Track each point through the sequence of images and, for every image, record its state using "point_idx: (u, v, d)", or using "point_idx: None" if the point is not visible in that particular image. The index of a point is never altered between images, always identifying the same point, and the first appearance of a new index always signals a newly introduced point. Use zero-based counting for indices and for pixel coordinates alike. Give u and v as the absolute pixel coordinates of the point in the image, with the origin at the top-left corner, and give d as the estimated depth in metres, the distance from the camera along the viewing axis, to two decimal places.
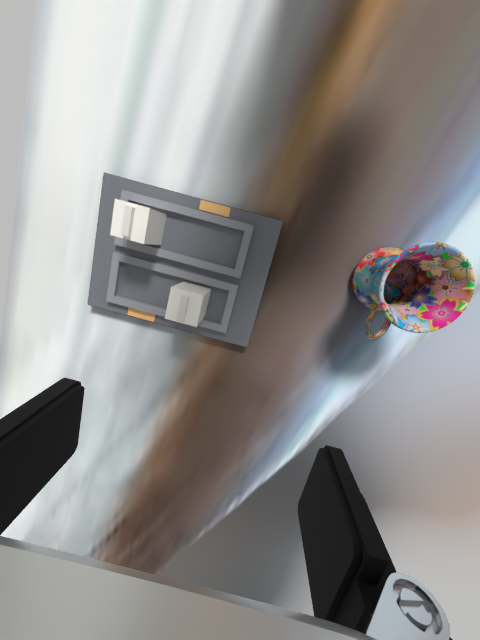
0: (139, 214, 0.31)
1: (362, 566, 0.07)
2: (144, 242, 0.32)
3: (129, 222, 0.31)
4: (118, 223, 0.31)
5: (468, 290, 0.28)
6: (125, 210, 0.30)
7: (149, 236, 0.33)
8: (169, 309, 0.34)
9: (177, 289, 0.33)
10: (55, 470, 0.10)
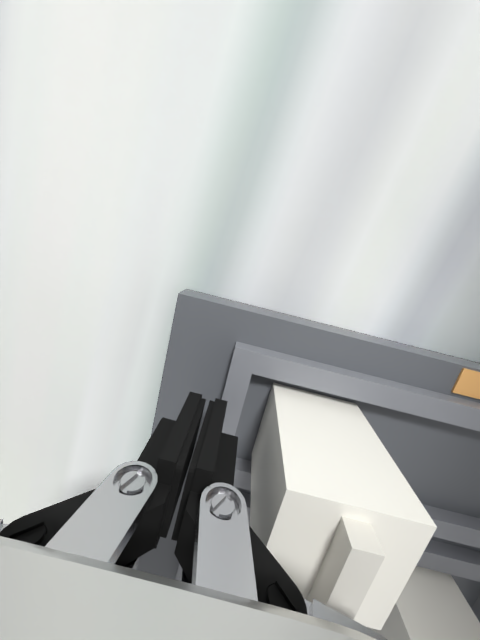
0: (385, 545, 0.07)
1: (194, 478, 0.08)
2: None
3: (357, 605, 0.07)
4: (288, 567, 0.08)
5: None
6: (349, 566, 0.07)
7: None
8: None
9: None
10: None
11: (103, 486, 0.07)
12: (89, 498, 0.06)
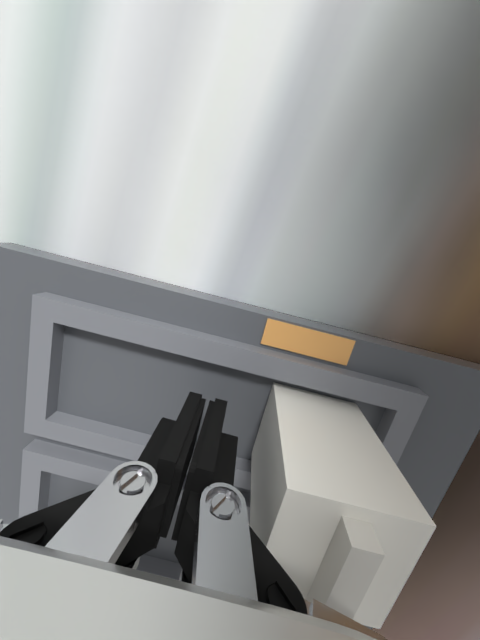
0: (384, 544, 0.07)
1: (194, 478, 0.08)
2: None
3: (357, 603, 0.07)
4: (288, 565, 0.08)
5: None
6: (349, 565, 0.07)
7: None
8: None
9: None
10: None
11: (103, 486, 0.07)
12: (89, 498, 0.06)
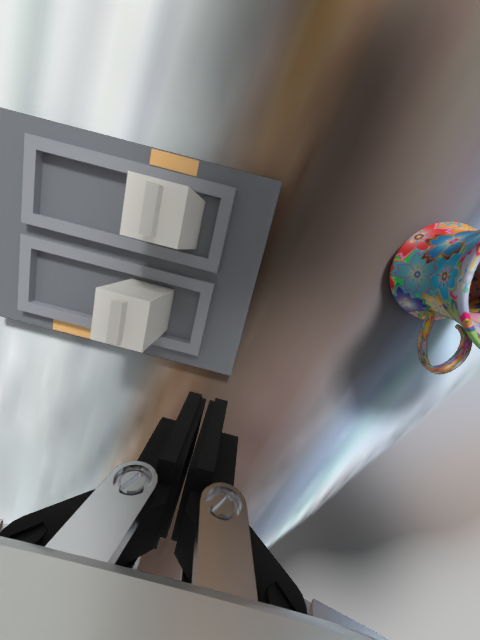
0: (170, 198, 0.18)
1: (194, 478, 0.08)
2: (178, 246, 0.19)
3: (153, 211, 0.17)
4: (134, 214, 0.18)
5: None
6: (147, 190, 0.17)
7: (184, 236, 0.20)
8: (96, 324, 0.20)
9: (106, 291, 0.20)
10: None
11: (103, 486, 0.07)
12: (89, 498, 0.06)
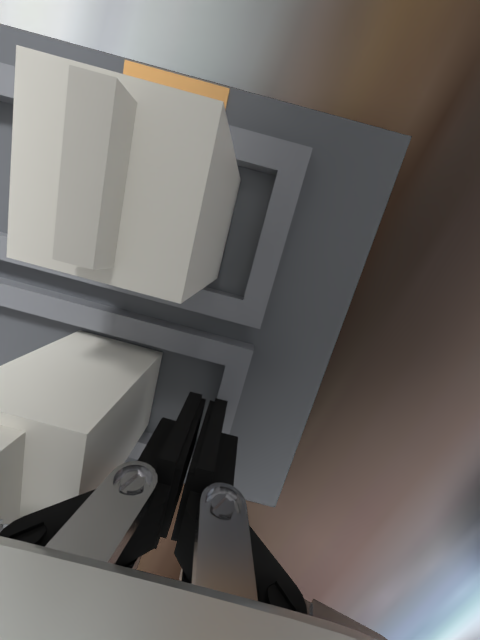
0: (161, 143, 0.05)
1: (194, 478, 0.08)
2: (183, 294, 0.06)
3: (99, 184, 0.05)
4: (46, 196, 0.06)
5: None
6: (73, 104, 0.05)
7: (201, 260, 0.07)
8: None
9: None
10: None
11: (103, 486, 0.07)
12: (89, 498, 0.06)
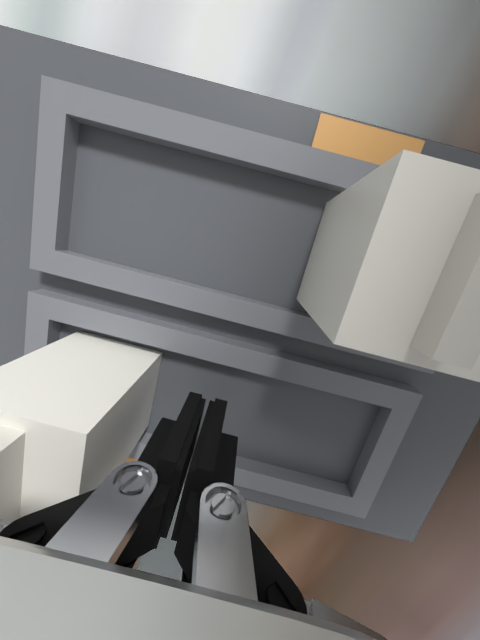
0: None
1: (194, 478, 0.08)
2: None
3: None
4: (392, 288, 0.06)
5: None
6: None
7: None
8: None
9: None
10: None
11: (103, 486, 0.07)
12: (89, 498, 0.06)
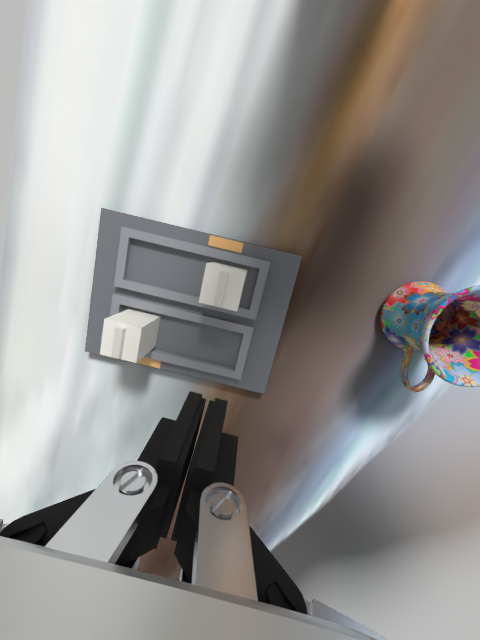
0: (233, 279, 0.27)
1: (194, 478, 0.08)
2: (237, 309, 0.28)
3: (224, 289, 0.27)
4: (209, 289, 0.28)
5: None
6: (220, 277, 0.27)
7: None
8: (104, 344, 0.29)
9: (111, 321, 0.29)
10: None
11: (103, 486, 0.07)
12: (89, 498, 0.06)
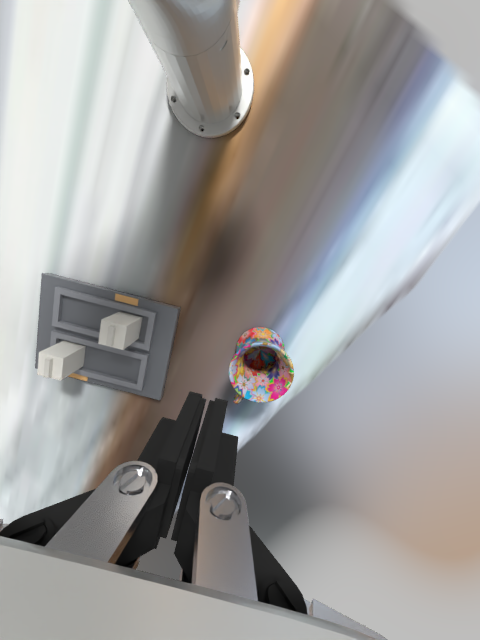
0: (119, 330, 0.43)
1: (194, 478, 0.08)
2: (123, 348, 0.43)
3: (111, 337, 0.42)
4: (104, 336, 0.43)
5: (290, 374, 0.40)
6: (108, 329, 0.42)
7: (127, 341, 0.44)
8: (39, 368, 0.45)
9: (43, 353, 0.44)
10: None
11: (103, 486, 0.07)
12: (89, 498, 0.06)
